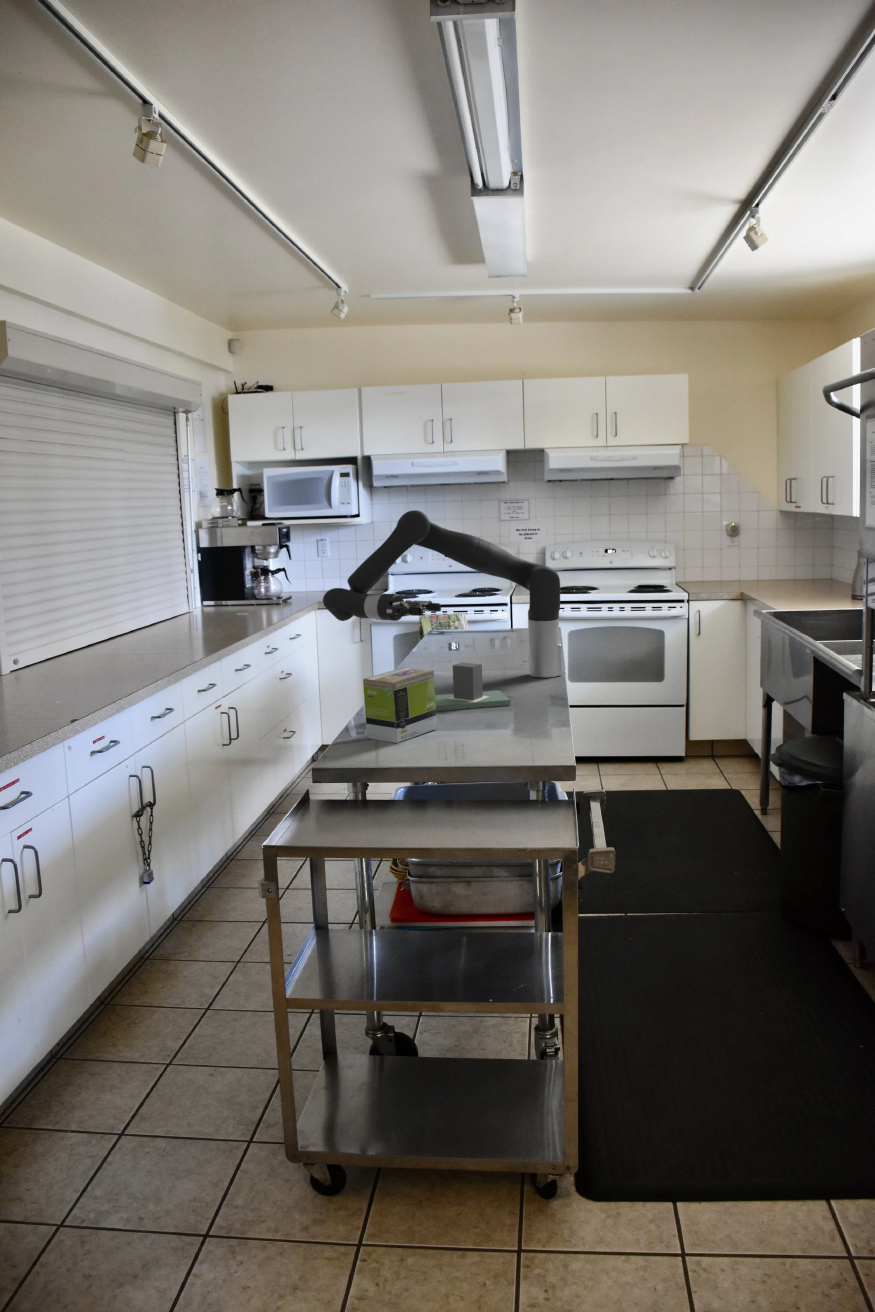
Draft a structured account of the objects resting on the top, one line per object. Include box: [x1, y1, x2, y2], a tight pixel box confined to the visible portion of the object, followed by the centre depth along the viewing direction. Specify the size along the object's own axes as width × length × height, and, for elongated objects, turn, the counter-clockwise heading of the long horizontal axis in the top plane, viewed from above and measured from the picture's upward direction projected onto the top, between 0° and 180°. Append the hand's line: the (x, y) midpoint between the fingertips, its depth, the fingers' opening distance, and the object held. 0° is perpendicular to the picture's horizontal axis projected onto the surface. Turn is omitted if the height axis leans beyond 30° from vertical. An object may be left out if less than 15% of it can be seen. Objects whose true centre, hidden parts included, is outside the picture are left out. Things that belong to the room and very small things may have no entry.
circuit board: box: [435, 690, 511, 712], centre depth 253 cm, size 20×12×4 cm, turn 100°
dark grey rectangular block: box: [452, 661, 484, 700], centre depth 253 cm, size 6×4×9 cm
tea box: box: [362, 667, 438, 744], centre depth 224 cm, size 15×10×15 cm, turn 141°
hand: (431, 609), depth 256 cm, fingers open, 8 cm apart
